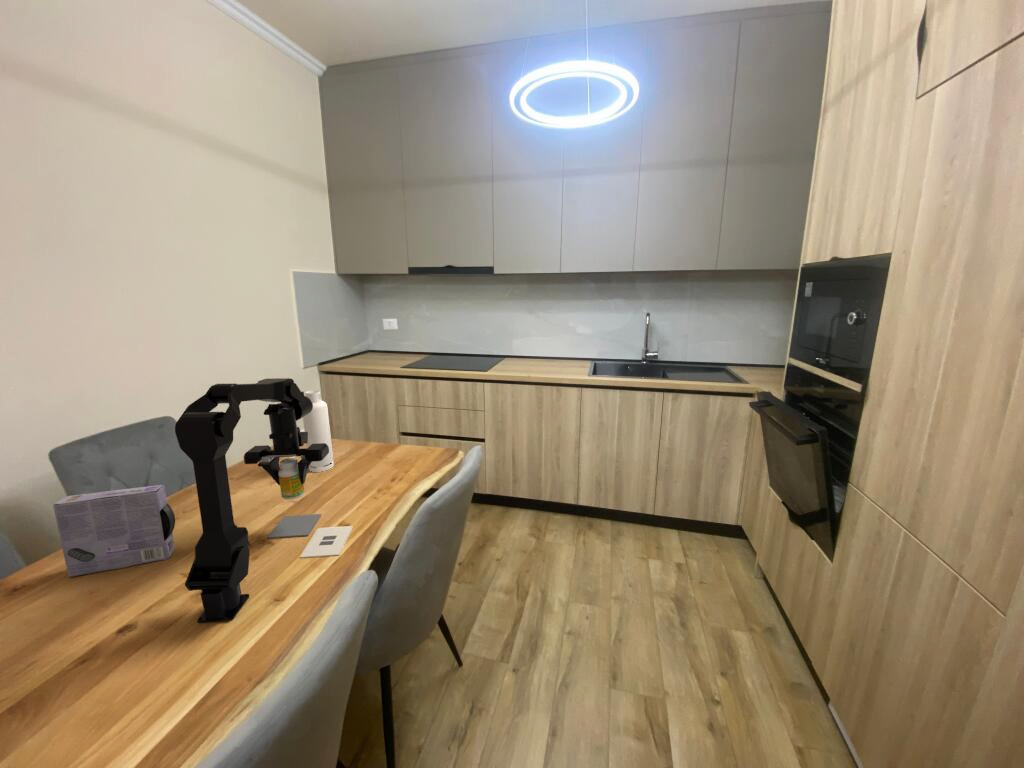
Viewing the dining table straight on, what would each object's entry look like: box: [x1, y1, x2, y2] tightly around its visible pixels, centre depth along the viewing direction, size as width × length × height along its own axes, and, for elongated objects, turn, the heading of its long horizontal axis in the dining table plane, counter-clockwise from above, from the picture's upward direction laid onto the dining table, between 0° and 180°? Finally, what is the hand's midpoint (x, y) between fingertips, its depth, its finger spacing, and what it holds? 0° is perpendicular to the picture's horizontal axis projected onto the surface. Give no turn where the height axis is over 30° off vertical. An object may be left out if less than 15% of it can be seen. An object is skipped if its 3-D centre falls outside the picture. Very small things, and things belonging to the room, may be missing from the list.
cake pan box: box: [52, 484, 176, 578], centre depth 93 cm, size 19×5×18 cm, turn 111°
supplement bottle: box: [278, 457, 305, 501], centre depth 105 cm, size 5×5×10 cm
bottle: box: [302, 389, 335, 473], centre depth 142 cm, size 8×8×28 cm
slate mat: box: [266, 513, 322, 540], centre depth 109 cm, size 10×10×1 cm
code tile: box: [299, 525, 354, 559], centre depth 102 cm, size 12×9×1 cm
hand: (291, 483), depth 106 cm, fingers closed on supplement bottle, 5 cm apart
